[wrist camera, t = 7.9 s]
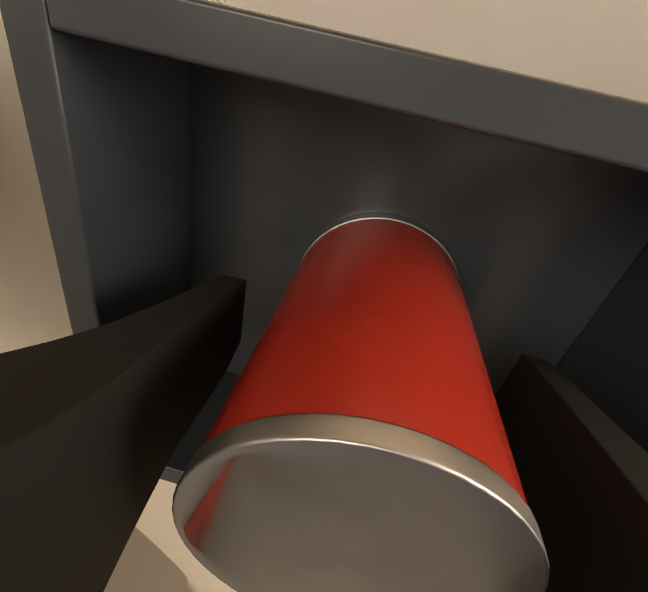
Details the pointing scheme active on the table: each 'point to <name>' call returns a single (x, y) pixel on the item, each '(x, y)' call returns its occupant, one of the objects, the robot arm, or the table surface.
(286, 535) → the tin can
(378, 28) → the table surface
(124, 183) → the drawer
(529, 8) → the table surface
